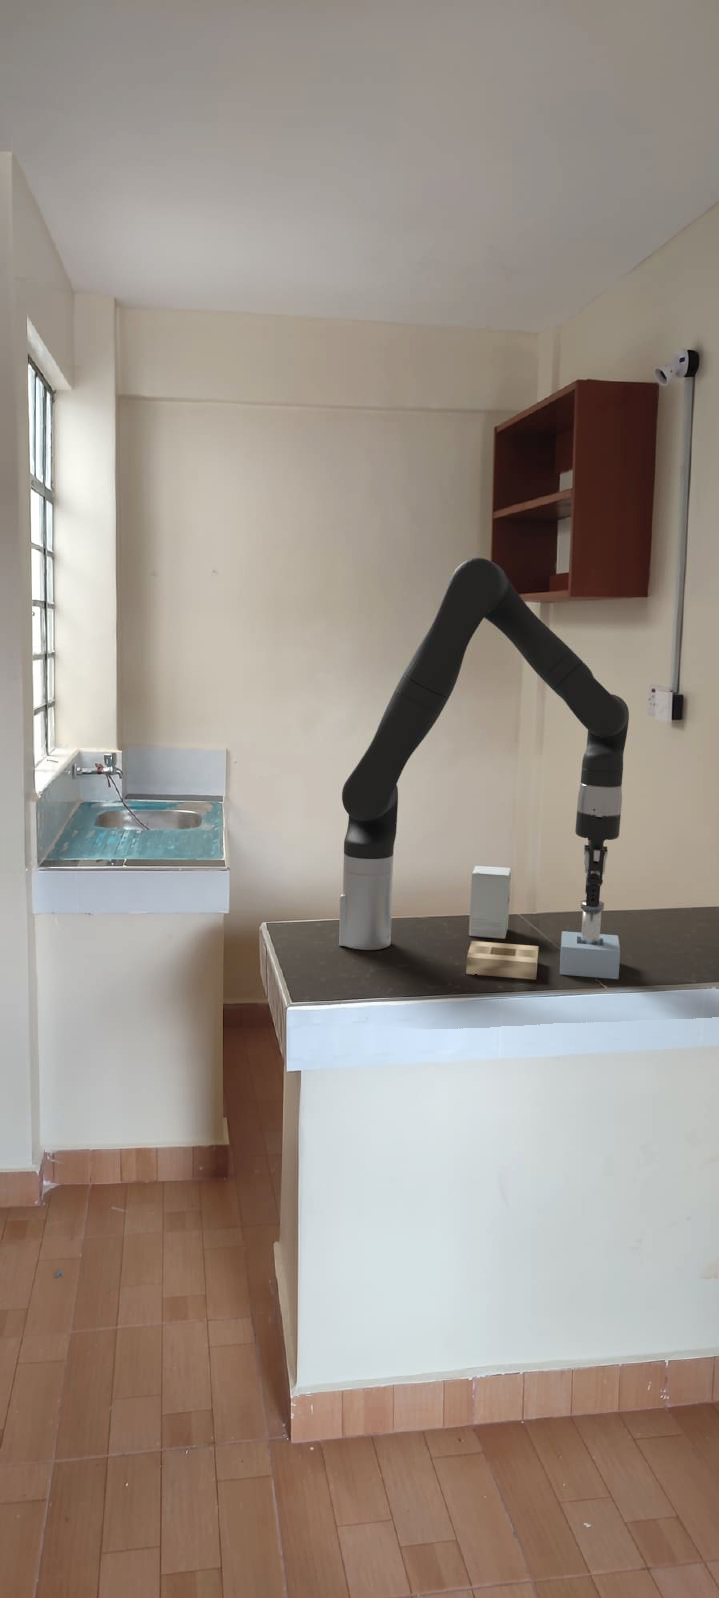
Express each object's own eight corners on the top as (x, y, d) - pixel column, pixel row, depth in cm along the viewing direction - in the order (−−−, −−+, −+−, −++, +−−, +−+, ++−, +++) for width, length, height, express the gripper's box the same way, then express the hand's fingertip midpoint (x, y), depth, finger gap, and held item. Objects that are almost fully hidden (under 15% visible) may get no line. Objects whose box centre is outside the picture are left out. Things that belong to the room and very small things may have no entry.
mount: (466, 973, 197) (466, 957, 196) (471, 956, 207) (471, 941, 206) (535, 979, 195) (536, 962, 194) (537, 962, 205) (538, 946, 204)
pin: (577, 970, 200) (581, 904, 198) (576, 963, 204) (580, 899, 202) (600, 972, 200) (604, 906, 198) (599, 965, 204) (603, 900, 202)
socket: (559, 974, 198) (561, 946, 197) (560, 957, 208) (561, 931, 207) (618, 979, 196) (620, 951, 195) (616, 962, 206) (617, 935, 205)
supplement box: (506, 939, 219) (509, 875, 216) (467, 936, 220) (470, 872, 218) (508, 929, 226) (512, 867, 224) (471, 926, 227) (474, 864, 225)
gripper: (576, 801, 205) (570, 889, 208) (577, 815, 191) (570, 908, 194) (619, 804, 203) (612, 892, 206) (622, 818, 190) (614, 912, 192)
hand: (591, 900), depth 200 cm, fingers open, 8 cm apart
